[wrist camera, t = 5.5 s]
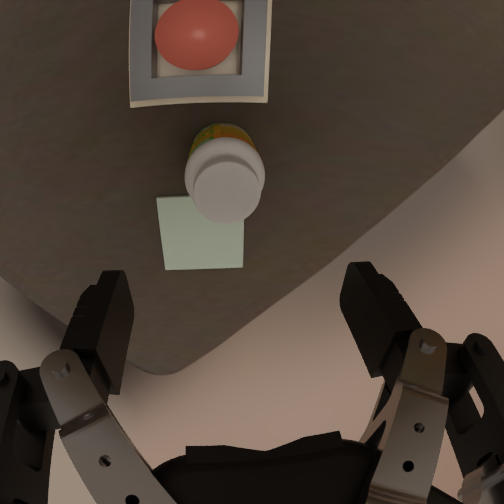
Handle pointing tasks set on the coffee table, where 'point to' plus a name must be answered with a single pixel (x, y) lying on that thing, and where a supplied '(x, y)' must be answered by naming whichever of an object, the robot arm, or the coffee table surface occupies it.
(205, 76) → the dome console
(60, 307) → the coffee table surface
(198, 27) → the dome button
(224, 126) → the supplement bottle
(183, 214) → the mat
